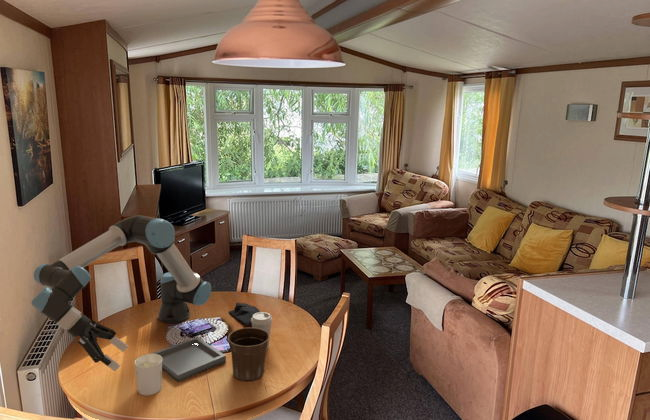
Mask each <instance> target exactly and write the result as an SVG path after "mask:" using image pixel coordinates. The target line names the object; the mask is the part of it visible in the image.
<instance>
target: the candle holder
mask: <svg viewBox="0 0 650 420" xmlns="http://www.w3.org/2000/svg"><path fill="white" fill-rule="evenodd" d="M162 360H163V359H162V357H161V356H160V355H158V354H151V353H146V354H143V355H139V356H138V357H137V358H136V359H135V360H134V362H133V363H134V371H135V376H136V377H135V378H136V387H137V392H138V394H139V395H141V396H153V395H155V394H157V393H159V392H160V391H161V389H162V383H163V380H162V379H163V370H162Z"/></svg>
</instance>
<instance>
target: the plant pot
mask: <svg viewBox="0 0 650 420" xmlns="http://www.w3.org/2000/svg"><path fill="white" fill-rule="evenodd" d="M227 340H228V343H229V349H230V351H231V352H230V353H231V364H232V374H233V376H234V378H236V379H238V380H240V381H248V380H249V381H255V380H259V379H260V378H261V377H262V376H263V375H264V371H265V361H266V360H265V359H266V354H267V349H266V348H267V344H268V340H269V341H270V339H269V334H268V332H266V331H265V330H262V329H259V328H252V327H242V328H239V329H235V330H232V331H231V332H230V333H229V334H228V336H227Z"/></svg>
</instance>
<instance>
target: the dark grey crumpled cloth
mask: <svg viewBox="0 0 650 420" xmlns="http://www.w3.org/2000/svg"><path fill="white" fill-rule="evenodd" d="M258 312H261V310H260V309H259V308H258V307H257V306H255V305H250V304H248V303H245V302H236V304H235V306H234V309H232V310H229V311H228V313H229V314H231V316H232V317H234V318H235V319H237V320H238V321H239V322H241V323H242V324H244V325H246V326H250V325H251V326H252V322H251V318H252V317H253V315H254V314H255V313H258Z"/></svg>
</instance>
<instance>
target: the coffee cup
mask: <svg viewBox="0 0 650 420" xmlns="http://www.w3.org/2000/svg"><path fill="white" fill-rule="evenodd" d="M273 321H274V320H273V317H272V315H271V314H270V313H269V312H266V311H260V312H258V313H255V314H254V315H253V317H252V318H251V322H252V325H251V326H252V327H251V328H259V329H262V330H265V331H266V332H268V334H269V340H268V344H267V348H266V350H268V349H269V347H270V336H271V329H272V322H273Z"/></svg>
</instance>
